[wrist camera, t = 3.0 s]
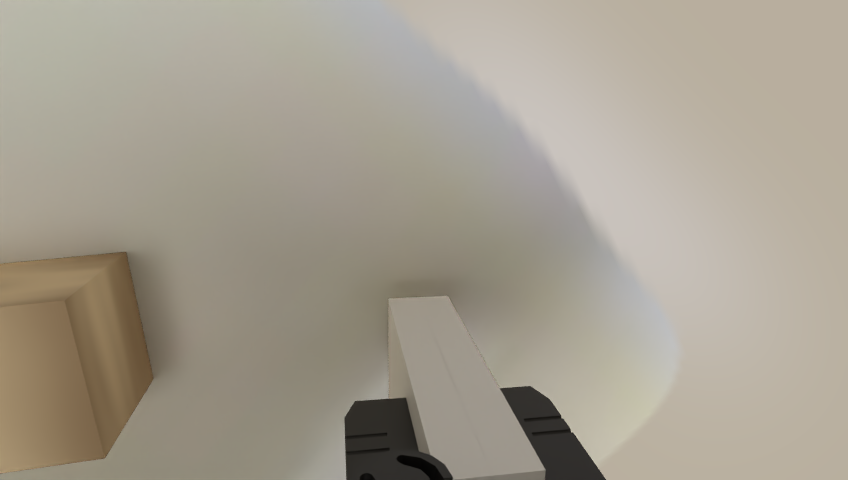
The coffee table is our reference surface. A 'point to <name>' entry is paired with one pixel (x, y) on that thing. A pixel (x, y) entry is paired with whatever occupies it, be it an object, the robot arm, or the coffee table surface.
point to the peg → (68, 359)
